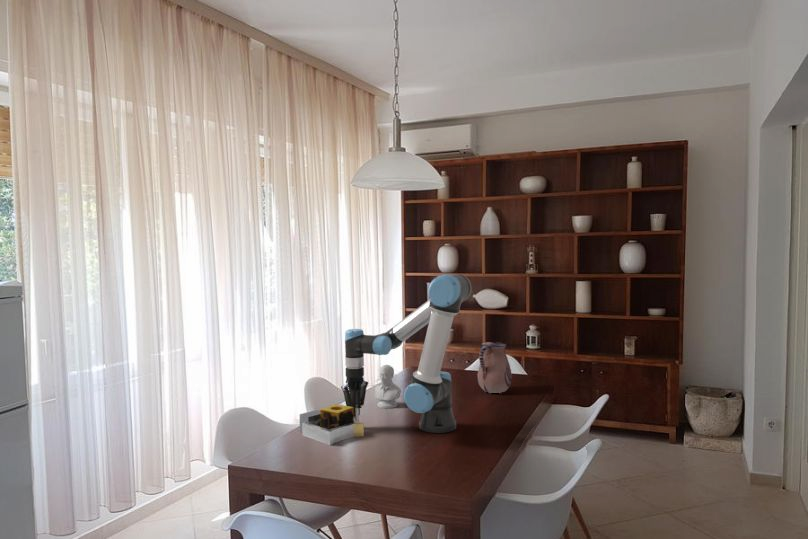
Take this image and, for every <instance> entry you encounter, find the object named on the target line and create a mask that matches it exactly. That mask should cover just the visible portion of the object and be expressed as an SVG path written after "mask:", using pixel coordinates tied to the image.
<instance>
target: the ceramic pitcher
mask: <svg viewBox="0 0 808 539" xmlns="http://www.w3.org/2000/svg"><path fill="white" fill-rule="evenodd" d="M481 346H482V347H481V348H480V349H479V354H478V358H479V359H478V360H479V366H478V369H477V382H478V385H479V386H480V388H481V389H482V390H483V391H484V392H485V393H486V392H488V394H491V393H499V394H503V393H505V392H506V391H507V390H508V389H509V388H510V386H511V384H512V380H513V373H512V369H511V364H510V362H509V359H508V356H507V353H506V347H507V344H506V343H503V342H500V341H499V342H498V341H496V342H493V341H492V342H490V341H486V342H483V343H481ZM502 392H503V393H502Z"/></svg>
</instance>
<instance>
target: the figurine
mask: <svg viewBox="0 0 808 539" xmlns="http://www.w3.org/2000/svg"><path fill="white" fill-rule="evenodd" d="M394 375H395V370H394V367H393V366H391V365H389V364H385V365H382V366H380V369H379V379H380V382H381V384H379V385H377V386H375V388H374V398H375V399H377V400H379V402H378V403H377V405H376V406H377V408H380V409H394V408H396V407H398V402H397V401H396V400H398V399H399V398H401V394H402V390H401V388H400V387H399V386H398V385H397V384H395V383H394V382H393V380H392V379H393V378H394Z"/></svg>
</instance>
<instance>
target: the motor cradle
mask: <svg viewBox="0 0 808 539" xmlns="http://www.w3.org/2000/svg"><path fill="white" fill-rule="evenodd" d="M299 432H301V434H302V436H303V437H305V438H309V439H311V440H314V441H317V442H318V443H319V442H320V443H322V444H325V445H328V446H332V445H334V443H335V444H336V443H339V442H341V440H342V441H344V439H345V440H347V439H348V440H349V439H350V438H355V437H364V436H365V427H364V422H359V423H350V424H346V425H343V426H340V427H336V428H333V429H329V430H328V429H325V428H322V427H320V409H315V410H311V411H308V412H304V413H300V414H299Z"/></svg>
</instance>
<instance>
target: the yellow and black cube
mask: <svg viewBox="0 0 808 539" xmlns="http://www.w3.org/2000/svg"><path fill="white" fill-rule="evenodd" d="M319 410H320V427H322V428H325V429H328V430H329V429H333V428H336V427H340V426H343V425H346V424H350V423H354V407H350V406H346V405H342V404H332V405H330V406H326V407H324V408H320V409H319Z"/></svg>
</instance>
